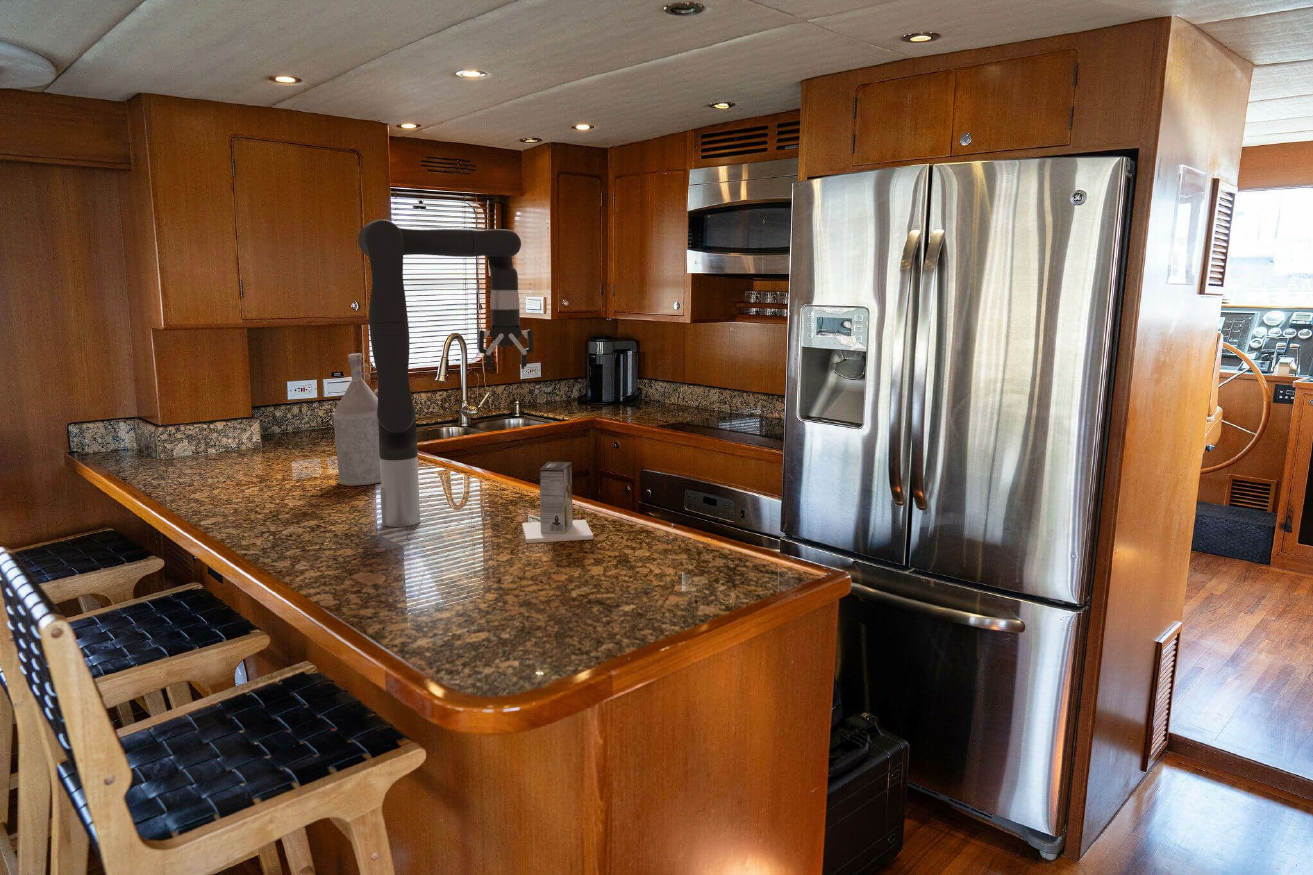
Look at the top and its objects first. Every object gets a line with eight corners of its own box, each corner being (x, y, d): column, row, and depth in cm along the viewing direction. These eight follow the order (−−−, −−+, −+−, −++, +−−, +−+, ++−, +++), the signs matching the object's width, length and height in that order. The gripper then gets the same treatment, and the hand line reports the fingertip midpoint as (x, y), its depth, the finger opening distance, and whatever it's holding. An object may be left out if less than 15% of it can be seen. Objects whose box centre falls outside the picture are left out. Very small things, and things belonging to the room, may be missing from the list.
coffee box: (548, 523, 217) (547, 461, 214) (573, 524, 216) (572, 461, 213) (539, 533, 208) (538, 468, 205) (565, 534, 207) (565, 469, 204)
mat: (526, 543, 204) (526, 538, 203) (522, 526, 217) (522, 523, 217) (593, 539, 207) (593, 535, 207) (585, 523, 220) (585, 519, 220)
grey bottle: (402, 479, 269) (395, 352, 261) (351, 489, 256) (343, 355, 248) (379, 473, 277) (373, 350, 270) (329, 482, 264) (321, 353, 257)
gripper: (477, 308, 221) (479, 370, 224) (533, 308, 224) (534, 370, 227) (477, 307, 228) (479, 368, 231) (531, 307, 231) (532, 367, 234)
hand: (506, 369), depth 229 cm, fingers open, 8 cm apart
